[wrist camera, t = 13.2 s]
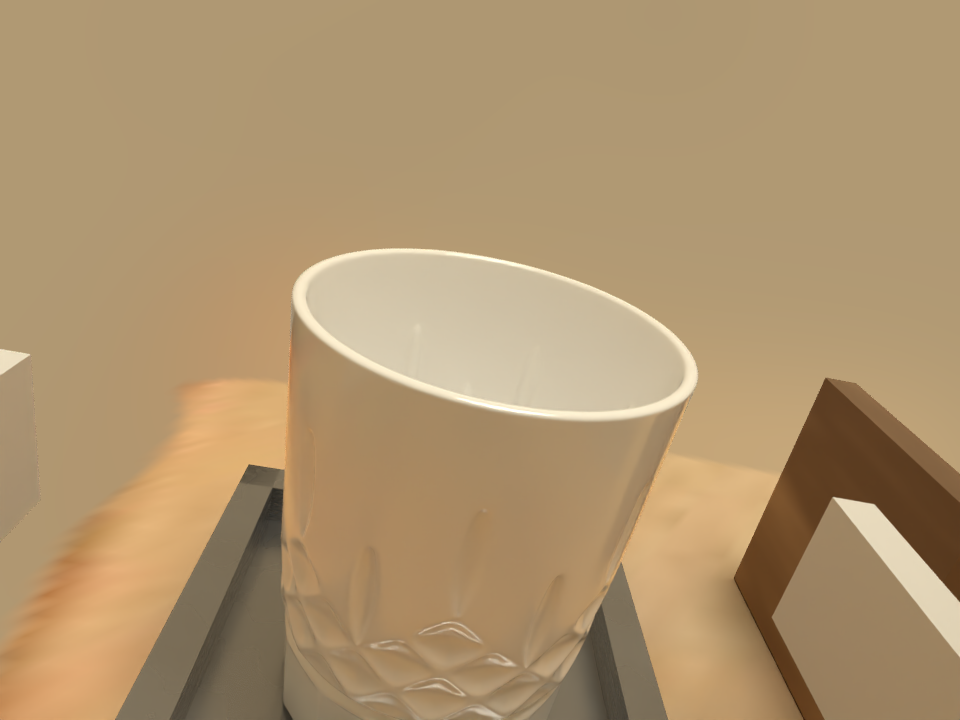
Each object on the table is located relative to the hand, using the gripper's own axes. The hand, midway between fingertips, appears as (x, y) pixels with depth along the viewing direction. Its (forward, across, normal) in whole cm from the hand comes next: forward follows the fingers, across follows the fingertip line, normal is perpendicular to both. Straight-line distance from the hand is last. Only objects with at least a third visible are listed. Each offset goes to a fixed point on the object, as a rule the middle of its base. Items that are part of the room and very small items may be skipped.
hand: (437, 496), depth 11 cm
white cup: (+3, +1, -8) cm, 9 cm away
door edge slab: (+6, +12, -8) cm, 16 cm away
